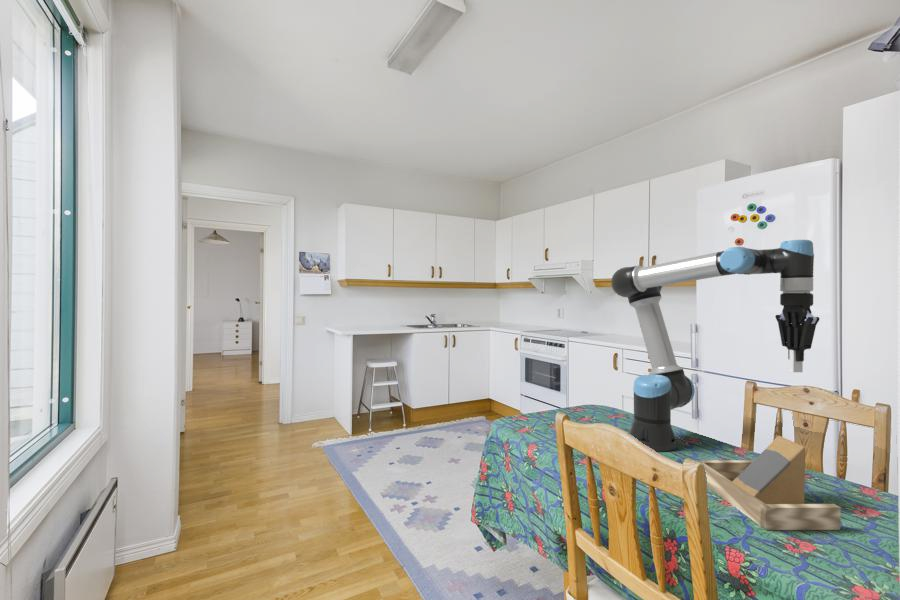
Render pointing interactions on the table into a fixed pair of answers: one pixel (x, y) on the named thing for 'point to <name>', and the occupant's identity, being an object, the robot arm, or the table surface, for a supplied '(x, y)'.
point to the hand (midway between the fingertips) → (795, 371)
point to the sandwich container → (776, 474)
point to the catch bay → (767, 513)
